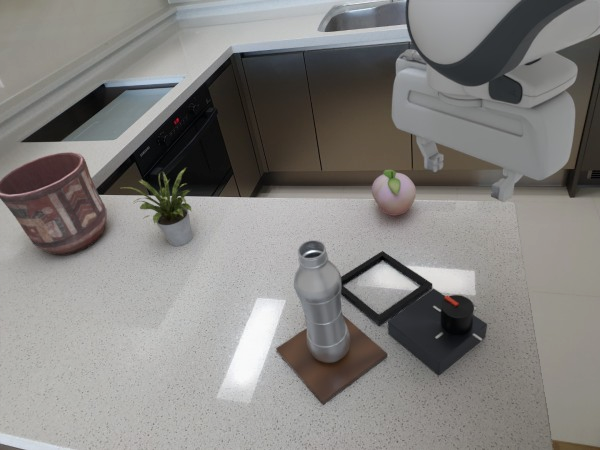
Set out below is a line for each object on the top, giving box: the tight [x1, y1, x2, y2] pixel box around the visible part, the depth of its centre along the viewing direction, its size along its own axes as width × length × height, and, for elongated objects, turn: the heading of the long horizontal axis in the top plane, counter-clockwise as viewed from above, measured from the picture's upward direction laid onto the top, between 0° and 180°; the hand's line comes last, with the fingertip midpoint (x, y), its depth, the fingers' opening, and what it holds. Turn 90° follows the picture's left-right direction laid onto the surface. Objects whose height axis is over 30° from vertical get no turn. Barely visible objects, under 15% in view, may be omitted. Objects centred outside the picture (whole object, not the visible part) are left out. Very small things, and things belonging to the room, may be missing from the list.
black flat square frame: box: [341, 250, 433, 327], centre depth 79 cm, size 12×12×1 cm
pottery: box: [0, 151, 108, 256], centre depth 101 cm, size 18×18×18 cm
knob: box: [441, 294, 475, 334], centre depth 66 cm, size 4×4×4 cm
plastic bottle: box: [293, 239, 350, 363], centre depth 63 cm, size 6×7×20 cm
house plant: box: [121, 167, 194, 247], centre depth 95 cm, size 14×14×16 cm
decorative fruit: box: [371, 169, 417, 216], centre depth 93 cm, size 9×8×10 cm
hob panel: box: [387, 287, 488, 376], centre depth 68 cm, size 11×11×3 cm
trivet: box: [275, 314, 388, 405], centre depth 69 cm, size 12×12×1 cm
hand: (465, 182), depth 53 cm, fingers open, 8 cm apart
